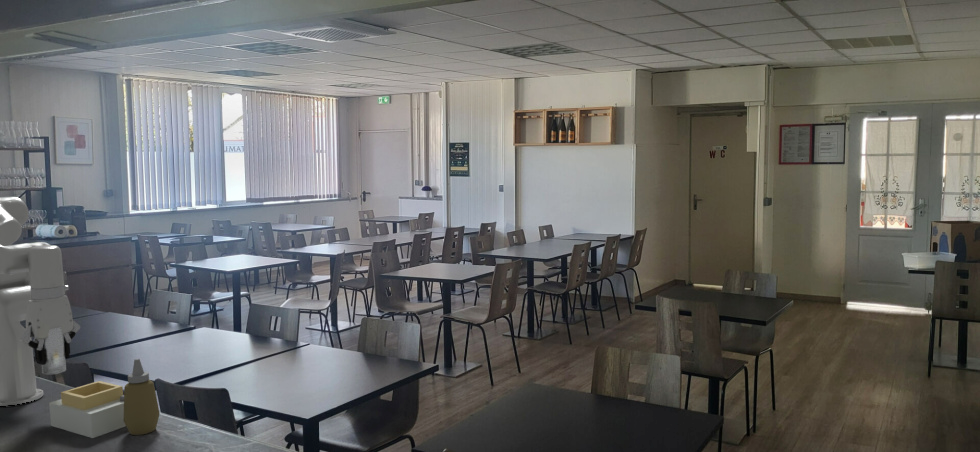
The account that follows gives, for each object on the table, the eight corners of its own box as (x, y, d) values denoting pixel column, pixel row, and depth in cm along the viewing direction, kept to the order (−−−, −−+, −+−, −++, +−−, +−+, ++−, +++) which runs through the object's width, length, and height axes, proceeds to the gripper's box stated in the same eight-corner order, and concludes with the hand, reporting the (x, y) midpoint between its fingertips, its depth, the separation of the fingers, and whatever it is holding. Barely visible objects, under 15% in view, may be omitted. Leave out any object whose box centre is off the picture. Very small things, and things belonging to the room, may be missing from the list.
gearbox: (51, 425, 186) (47, 391, 186) (97, 410, 197) (94, 377, 196) (92, 438, 177) (89, 401, 176) (138, 421, 187) (135, 387, 187)
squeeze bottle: (146, 438, 176) (140, 364, 174) (117, 436, 178) (110, 363, 176) (167, 425, 184) (162, 355, 182) (139, 424, 186) (133, 354, 184)
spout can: (37, 372, 193) (33, 318, 192) (59, 366, 198) (54, 314, 196) (49, 375, 191) (44, 321, 189) (70, 370, 195) (66, 316, 194)
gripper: (72, 285, 201) (77, 350, 203) (4, 297, 186) (11, 367, 189) (88, 288, 197) (93, 354, 199) (20, 301, 183) (26, 372, 185)
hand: (53, 360), depth 194 cm, fingers closed on spout can, 5 cm apart
